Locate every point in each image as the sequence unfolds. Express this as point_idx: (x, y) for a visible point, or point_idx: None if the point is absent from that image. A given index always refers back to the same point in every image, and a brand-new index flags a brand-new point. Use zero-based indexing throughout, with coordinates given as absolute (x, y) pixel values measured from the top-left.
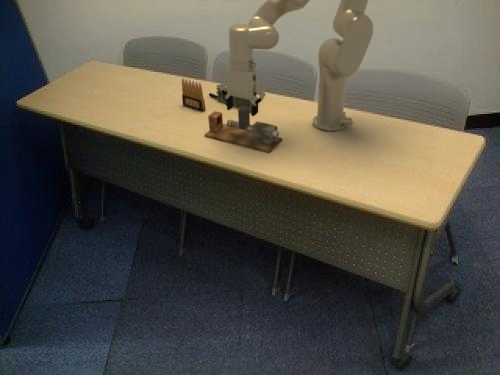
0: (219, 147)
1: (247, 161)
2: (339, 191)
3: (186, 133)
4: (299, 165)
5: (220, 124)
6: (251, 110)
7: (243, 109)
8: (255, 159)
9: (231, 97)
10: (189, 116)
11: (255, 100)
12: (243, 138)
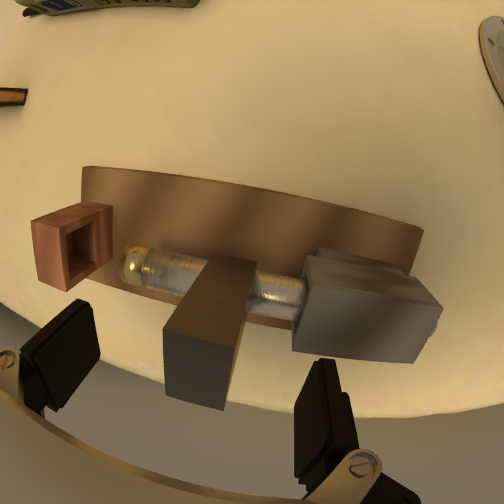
0: None
1: None
2: (492, 396)
3: None
4: (455, 359)
5: (96, 232)
6: (295, 443)
7: (201, 386)
8: None
9: (35, 372)
10: (8, 154)
11: (329, 482)
12: None
